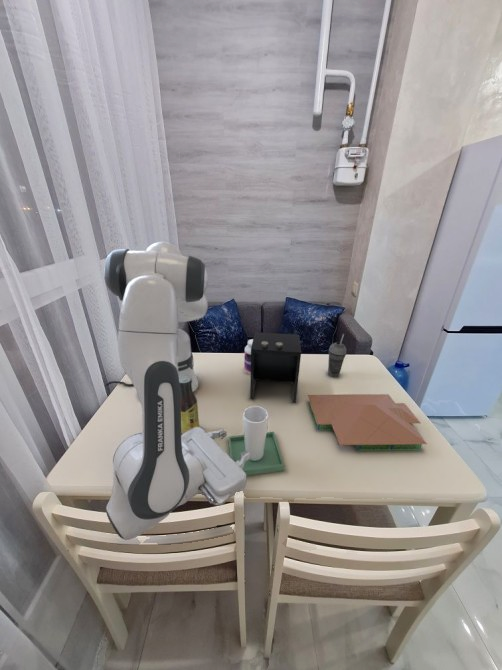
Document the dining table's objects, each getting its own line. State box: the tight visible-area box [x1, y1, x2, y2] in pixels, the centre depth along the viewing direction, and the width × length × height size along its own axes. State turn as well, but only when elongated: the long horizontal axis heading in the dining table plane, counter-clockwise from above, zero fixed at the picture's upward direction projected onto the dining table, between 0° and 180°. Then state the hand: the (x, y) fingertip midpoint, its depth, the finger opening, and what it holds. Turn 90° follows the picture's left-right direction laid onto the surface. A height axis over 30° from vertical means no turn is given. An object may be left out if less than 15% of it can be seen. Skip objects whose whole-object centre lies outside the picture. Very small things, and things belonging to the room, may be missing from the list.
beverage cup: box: [327, 333, 347, 379], centre depth 110 cm, size 7×7×20 cm
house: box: [307, 393, 428, 451], centre depth 86 cm, size 23×33×8 cm
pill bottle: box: [243, 338, 254, 375], centre depth 113 cm, size 8×8×14 cm
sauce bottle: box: [179, 376, 200, 435], centre depth 80 cm, size 7×6×20 cm
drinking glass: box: [242, 405, 269, 461], centre depth 73 cm, size 7×7×15 cm
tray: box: [227, 431, 285, 477], centre depth 76 cm, size 14×12×2 cm
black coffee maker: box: [249, 331, 302, 404], centre depth 99 cm, size 14×17×23 cm
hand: (236, 442), depth 68 cm, fingers open, 8 cm apart
